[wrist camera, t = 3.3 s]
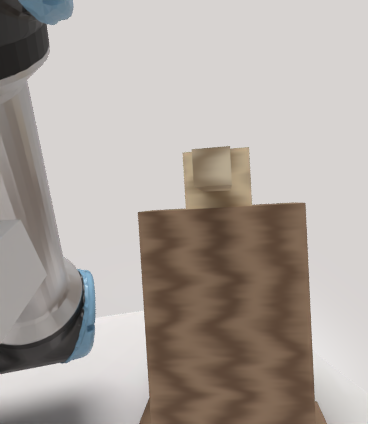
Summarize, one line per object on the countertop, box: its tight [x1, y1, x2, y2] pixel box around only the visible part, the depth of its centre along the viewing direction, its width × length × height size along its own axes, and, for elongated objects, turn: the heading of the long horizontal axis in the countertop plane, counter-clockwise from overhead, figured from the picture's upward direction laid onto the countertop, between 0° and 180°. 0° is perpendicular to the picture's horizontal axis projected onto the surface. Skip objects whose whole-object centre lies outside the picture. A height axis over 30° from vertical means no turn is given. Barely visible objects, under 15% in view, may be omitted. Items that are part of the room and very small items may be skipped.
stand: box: [138, 203, 327, 424], centre depth 40 cm, size 24×7×30 cm, turn 82°
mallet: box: [183, 146, 252, 209], centre depth 34 cm, size 8×21×7 cm, turn 172°
